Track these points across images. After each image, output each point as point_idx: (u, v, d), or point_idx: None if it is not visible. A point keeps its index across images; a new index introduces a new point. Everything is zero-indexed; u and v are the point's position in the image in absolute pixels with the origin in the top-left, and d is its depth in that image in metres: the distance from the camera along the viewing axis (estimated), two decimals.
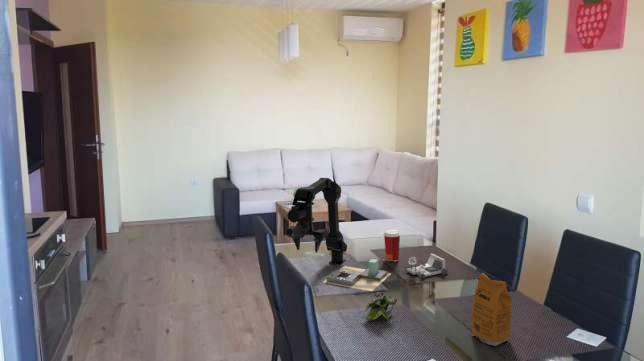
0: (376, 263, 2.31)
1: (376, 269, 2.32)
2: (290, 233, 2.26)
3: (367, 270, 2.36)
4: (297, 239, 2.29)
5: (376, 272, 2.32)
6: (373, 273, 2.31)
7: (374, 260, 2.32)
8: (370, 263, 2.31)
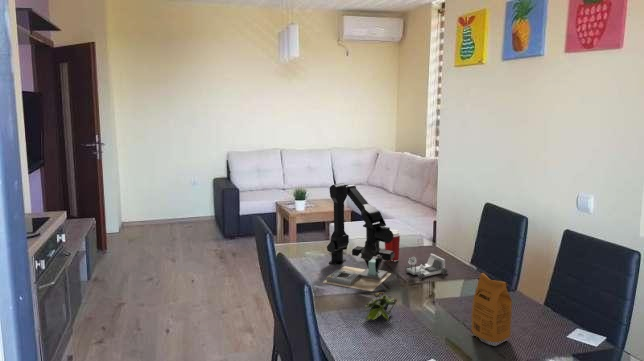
0: None
1: None
2: (357, 254, 2.32)
3: (367, 270, 2.36)
4: (369, 260, 2.33)
5: (376, 272, 2.32)
6: (373, 273, 2.31)
7: (374, 260, 2.32)
8: (370, 263, 2.31)
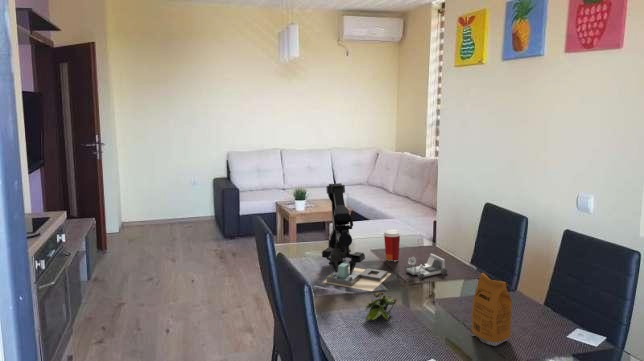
0: (346, 267, 2.28)
1: (346, 273, 2.28)
2: (327, 256, 2.28)
3: (367, 270, 2.36)
4: (335, 262, 2.30)
5: (346, 276, 2.28)
6: (343, 277, 2.27)
7: (345, 264, 2.29)
8: (340, 267, 2.27)
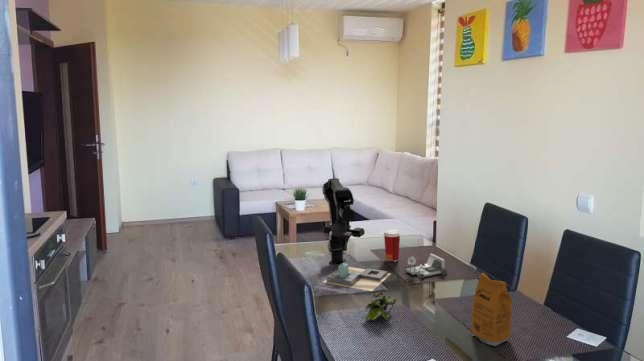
0: (346, 267, 2.28)
1: (346, 273, 2.28)
2: (328, 231, 2.36)
3: (367, 270, 2.36)
4: None
5: (346, 276, 2.28)
6: (343, 277, 2.27)
7: (345, 264, 2.29)
8: (340, 267, 2.27)
